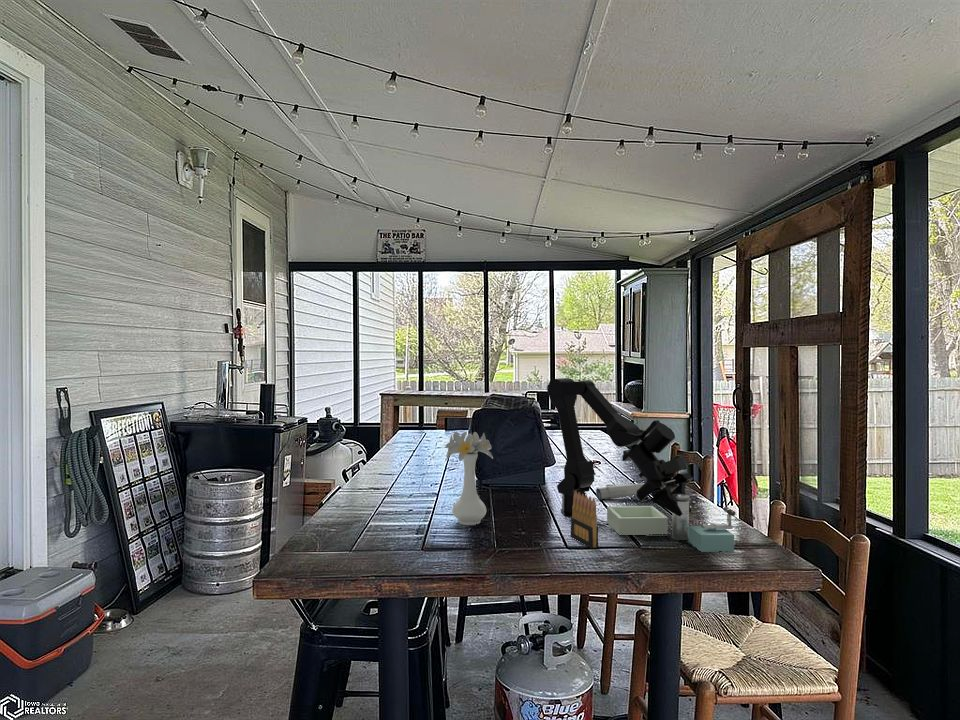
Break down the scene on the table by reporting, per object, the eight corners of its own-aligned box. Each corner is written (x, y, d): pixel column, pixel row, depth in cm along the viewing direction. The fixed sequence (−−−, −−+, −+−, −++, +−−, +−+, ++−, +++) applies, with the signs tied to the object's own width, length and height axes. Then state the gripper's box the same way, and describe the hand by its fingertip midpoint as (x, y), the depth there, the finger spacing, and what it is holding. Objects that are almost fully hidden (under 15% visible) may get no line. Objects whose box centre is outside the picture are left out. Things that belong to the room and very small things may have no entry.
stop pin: (675, 541, 169) (675, 497, 169) (669, 536, 173) (669, 493, 173) (691, 541, 169) (692, 497, 169) (685, 536, 174) (686, 493, 173)
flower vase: (483, 512, 197) (484, 426, 196) (498, 530, 178) (498, 435, 178) (439, 514, 194) (439, 427, 193) (449, 532, 176) (449, 436, 175)
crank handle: (707, 532, 162) (707, 511, 162) (698, 526, 167) (699, 506, 167) (736, 531, 162) (736, 511, 162) (727, 526, 168) (727, 506, 167)
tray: (619, 535, 174) (619, 518, 174) (606, 522, 186) (607, 506, 186) (667, 535, 174) (667, 517, 174) (652, 522, 187) (652, 506, 187)
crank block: (700, 552, 161) (701, 535, 160) (688, 542, 168) (688, 526, 168) (733, 551, 161) (734, 534, 161) (720, 541, 169) (720, 525, 169)
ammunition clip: (598, 548, 163) (599, 498, 163) (591, 549, 163) (592, 499, 162) (576, 536, 173) (577, 489, 173) (570, 537, 173) (570, 490, 172)
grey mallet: (594, 486, 217) (670, 474, 219) (597, 506, 217) (672, 494, 219) (599, 489, 212) (676, 477, 214) (601, 510, 212) (678, 498, 214)
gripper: (647, 448, 167) (687, 500, 160) (686, 441, 180) (725, 489, 172) (620, 475, 173) (657, 527, 165) (659, 466, 186) (696, 514, 178)
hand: (685, 513), depth 170 cm, fingers closed on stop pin, 4 cm apart
